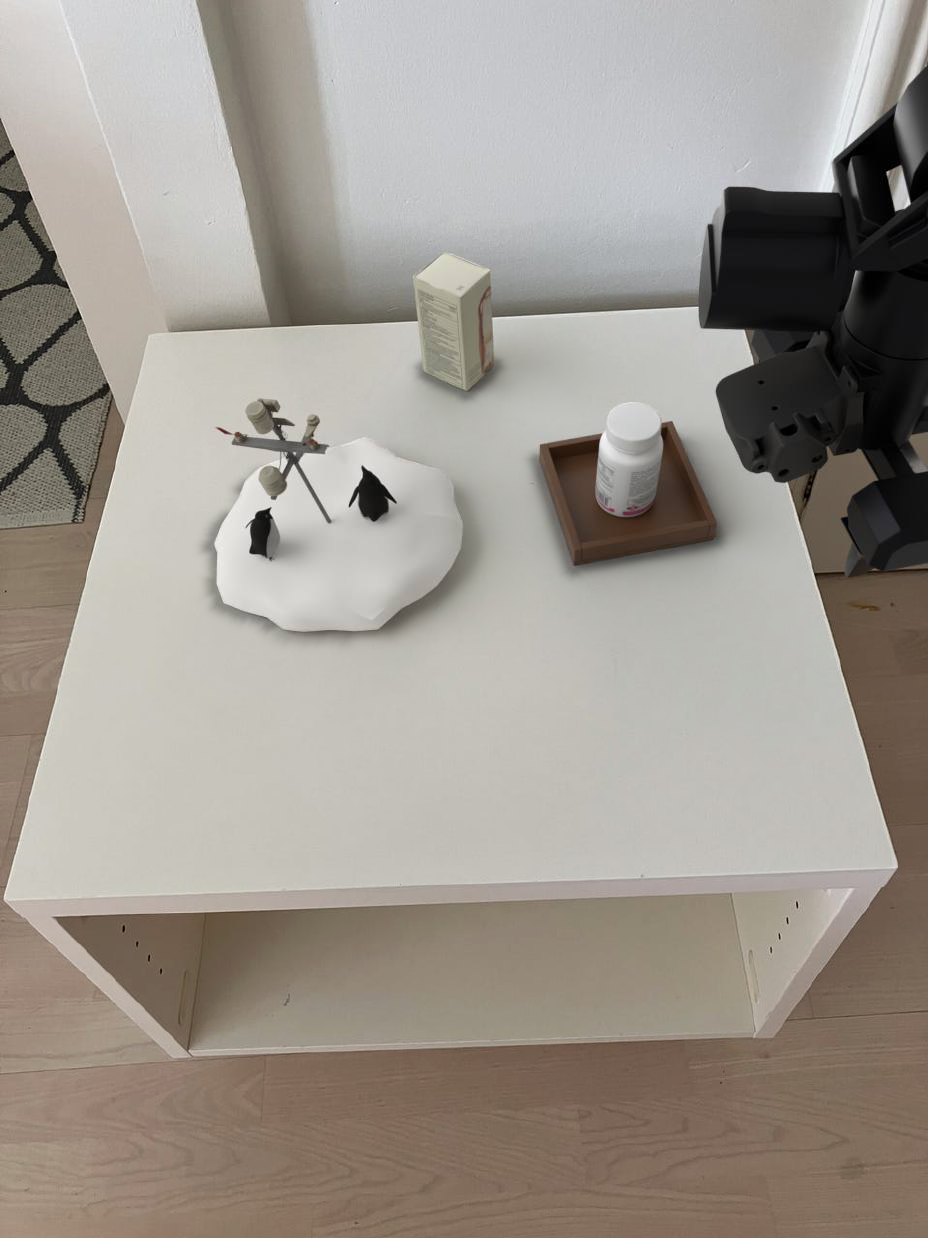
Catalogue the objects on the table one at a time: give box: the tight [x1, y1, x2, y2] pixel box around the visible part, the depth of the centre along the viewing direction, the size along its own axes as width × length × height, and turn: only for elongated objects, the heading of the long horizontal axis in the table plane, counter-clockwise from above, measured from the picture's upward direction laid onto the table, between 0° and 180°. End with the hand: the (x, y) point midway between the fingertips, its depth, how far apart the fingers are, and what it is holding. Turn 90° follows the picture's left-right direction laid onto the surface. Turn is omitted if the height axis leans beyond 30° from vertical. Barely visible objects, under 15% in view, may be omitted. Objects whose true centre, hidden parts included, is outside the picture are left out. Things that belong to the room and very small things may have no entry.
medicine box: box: [412, 250, 495, 392], centre depth 87 cm, size 5×4×10 cm
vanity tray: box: [538, 420, 718, 566], centre depth 81 cm, size 11×11×2 cm
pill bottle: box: [595, 401, 663, 517], centre depth 78 cm, size 5×5×8 cm
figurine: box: [213, 398, 464, 633], centre depth 74 cm, size 20×18×16 cm
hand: (823, 517), depth 65 cm, fingers open, 9 cm apart
